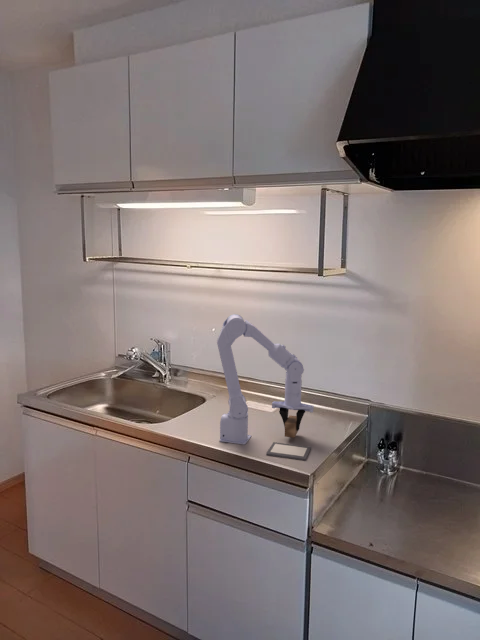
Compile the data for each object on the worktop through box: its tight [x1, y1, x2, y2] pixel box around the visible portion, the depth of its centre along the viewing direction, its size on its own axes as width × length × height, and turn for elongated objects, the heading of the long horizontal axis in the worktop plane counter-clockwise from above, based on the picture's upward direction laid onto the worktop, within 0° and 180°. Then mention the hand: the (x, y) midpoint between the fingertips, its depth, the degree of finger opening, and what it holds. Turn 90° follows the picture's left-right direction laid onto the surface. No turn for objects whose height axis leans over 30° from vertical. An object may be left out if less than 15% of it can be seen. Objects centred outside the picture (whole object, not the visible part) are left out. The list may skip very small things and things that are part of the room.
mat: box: [265, 441, 312, 461], centre depth 171 cm, size 13×10×1 cm
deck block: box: [284, 414, 299, 438], centre depth 182 cm, size 4×8×5 cm, turn 163°
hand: (291, 429), depth 182 cm, fingers closed on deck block, 3 cm apart
